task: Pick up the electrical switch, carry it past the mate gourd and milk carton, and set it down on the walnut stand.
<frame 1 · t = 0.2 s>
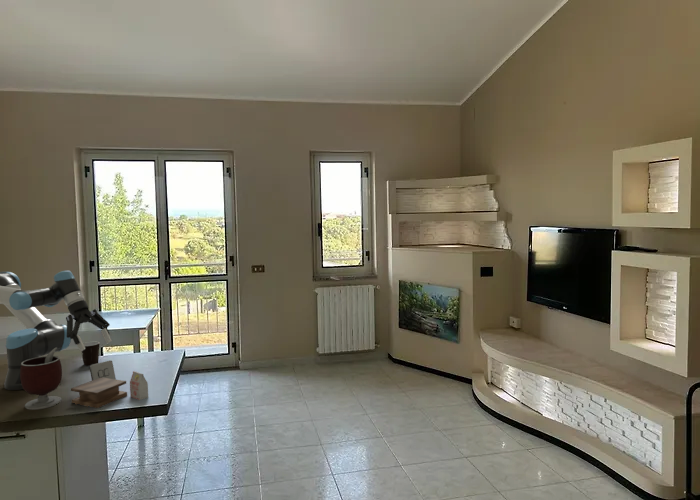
hand: (96, 346, 222), 16 cm above the table, tool tilted 30°, fingers open, 13 cm apart
electrical switch: (102, 383, 222), on the table
mate gourd: (45, 403, 200), on the table
coffee mug: (89, 365, 250), on the table
milk carton: (139, 397, 204), on the table
walnut stand: (99, 399, 202), on the table
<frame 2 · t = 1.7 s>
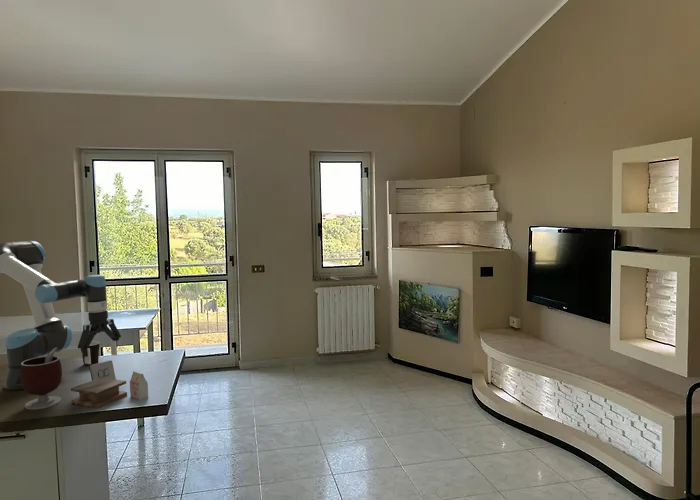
hand: (101, 359, 221), 11 cm above the table, tool pointing down, fingers open, 13 cm apart
nothing on the table moved.
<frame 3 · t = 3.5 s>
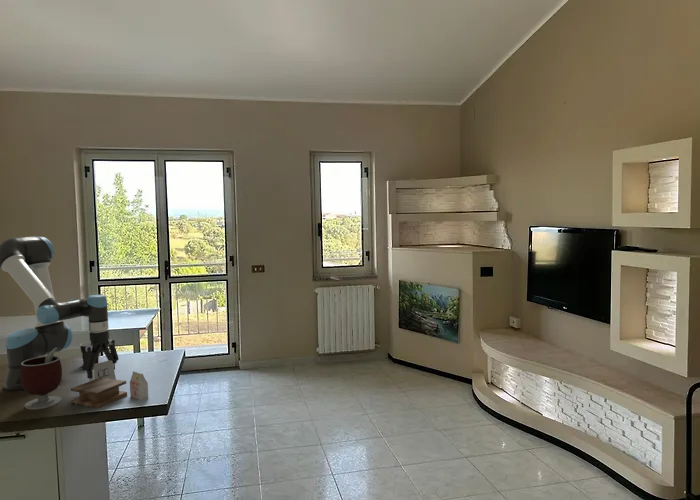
hand: (102, 381, 222), 1 cm above the table, tool pointing down, fingers closed on electrical switch, 9 cm apart
electrical switch: (102, 383, 222), on the table, touching gripper
everything else where it was.
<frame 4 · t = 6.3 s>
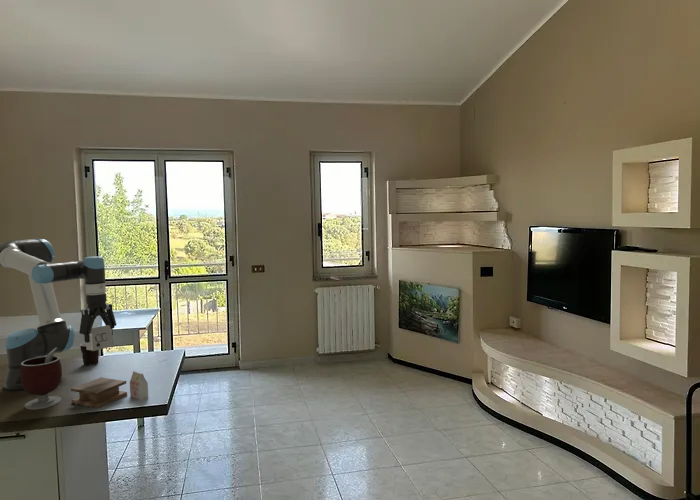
hand: (99, 346, 213), 18 cm above the table, tool pointing down, fingers closed on electrical switch, 9 cm apart
electrical switch: (100, 348, 214), point 17 cm above the table, touching gripper
everything else where it was.
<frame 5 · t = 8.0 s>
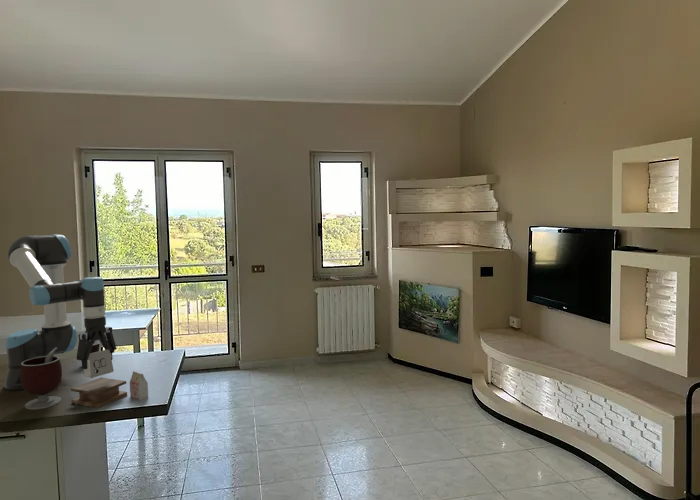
hand: (98, 372, 201), 11 cm above the table, tool pointing down, fingers closed on electrical switch, 9 cm apart
electrical switch: (98, 374, 201), point 10 cm above the table, touching gripper
everything else where it was.
when the fingers open (8 cm above the table, at t = 9.4 s): electrical switch drops 1 cm, resting on walnut stand.
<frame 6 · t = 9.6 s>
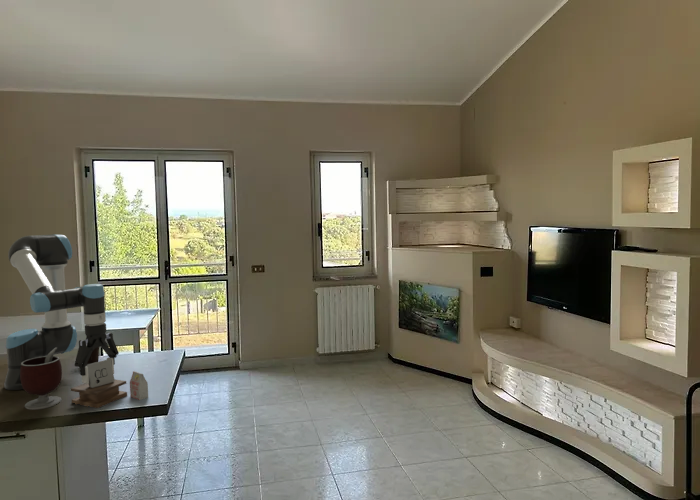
hand: (98, 378, 201), 9 cm above the table, tool pointing down, fingers open, 11 cm apart
electrical switch: (99, 384, 202), point 6 cm above the table, touching walnut stand
everything else where it was.
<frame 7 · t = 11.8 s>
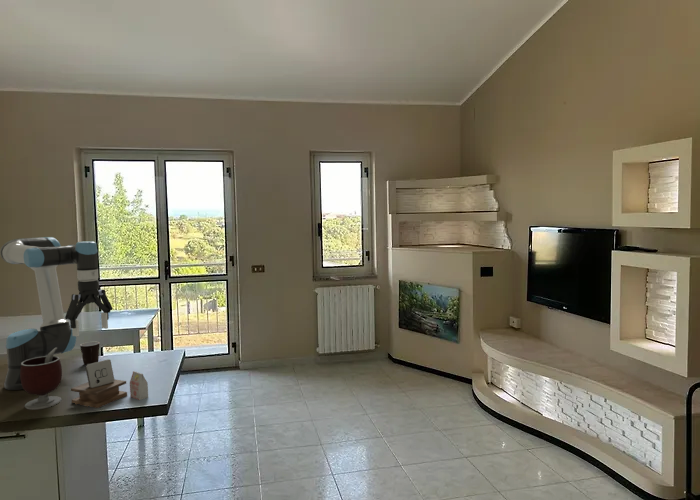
hand: (90, 332, 206), 26 cm above the table, tool pointing down, fingers open, 13 cm apart
nothing on the table moved.
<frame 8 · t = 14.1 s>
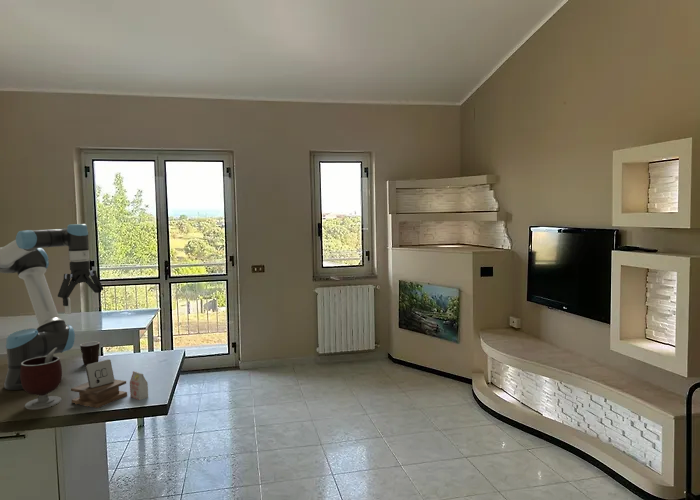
hand: (82, 310, 216), 33 cm above the table, tool pointing down, fingers open, 13 cm apart
nothing on the table moved.
at the end: electrical switch inside the target area on the walnut stand (0.3 cm from its centre), point 5.8 cm above the walnut stand's base; electrical switch tilted 0°; the gripper is holding nothing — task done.
